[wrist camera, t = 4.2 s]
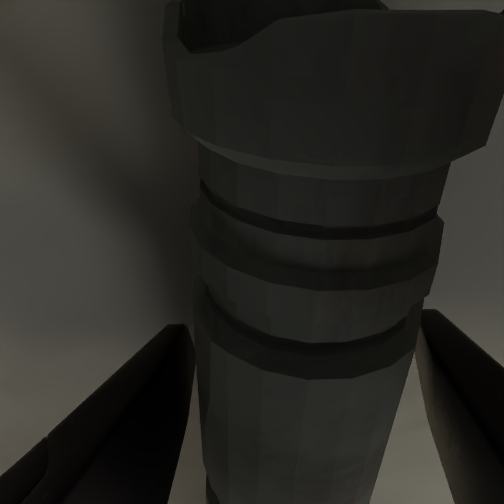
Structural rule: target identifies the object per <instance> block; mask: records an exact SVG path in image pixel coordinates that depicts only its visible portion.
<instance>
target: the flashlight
mask: <svg viewBox="0 0 504 504" xmlns="http://www.w3.org/2000/svg"><path fill="white" fill-rule="evenodd" d="M162 42H163V50H164V57H165V65H166V73H167V80H168V88H169V96H170V103H171V111H172V116H173V118H174V119H175V120H176V121H177V122H178V124H179V125H180V126H181V127H182V129H183V130H184V131H185V132H187V133H188V134H189V135H191V136H192V137H193V138H195V139H196V140H197V141H198V159H199V176H200V177H201V181H200V198H199V199H198V200H197V201H196V202H195V203H194V205H193V206H192V209H191V217H190V224H189V228H190V243H191V256H192V258H193V260H194V262H195V264H196V266H197V268H198V270H199V272H200V274H199V276H198V277H197V279H196V280H195V282H194V292H193V303H192V306H193V321H194V335H195V350H196V364H197V379H198V394H199V408H200V423H201V438H202V452H203V462H204V466H205V469H206V472H207V475H206V500H207V504H369V502H370V498H371V495H372V492H373V488H374V485H375V482H376V478H377V475H378V472H379V468H380V465H381V462H382V458H383V455H384V452H385V448H386V445H387V442H388V438H389V435H390V432H391V428H392V425H393V421H394V418H395V415H396V411H397V408H398V405H399V401H400V398H401V395H402V391H403V388H404V385H405V381H406V378H407V375H408V371H409V368H410V365H411V361H412V358H413V355H414V351H415V348H416V343H417V337H418V331H419V326H420V320H421V314H422V308H423V303H424V297H426V296H427V295H429V292H430V288H431V285H432V282H433V278H434V275H435V271H436V268H437V265H438V260H439V253H440V246H441V239H442V233H443V226H444V222H443V221H442V219H441V218H440V217H439V216H438V215H437V214H436V213H437V207H438V205H439V203H440V200H441V196H442V192H443V189H444V185H445V181H446V178H447V174H448V170H449V167H450V163H451V162H452V161H454V160H456V159H458V158H460V157H462V156H464V155H466V154H469V153H471V152H473V151H475V150H477V149H479V148H481V147H483V146H485V145H486V142H487V139H488V136H489V134H490V131H491V128H492V125H493V122H494V119H495V117H496V114H497V111H498V108H499V105H500V103H501V100H502V97H503V94H504V10H503V11H502V12H501V13H495V12H490V11H486V10H389V9H388V8H387V7H386V6H385V5H384V4H383V3H382V2H381V1H380V0H171V1H169V2H167V3H166V7H165V18H164V28H163V37H162Z"/></svg>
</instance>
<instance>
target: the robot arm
mask: <svg viewBox="0 0 504 504" xmlns="http://www.w3.org/2000/svg"><path fill="white" fill-rule="evenodd" d="M414 352H415V357H416V362H417V367H418V373H419V378H420V383H421V388H422V393H423V399H424V404H425V409H426V413H427V418H428V422H429V425H430V428H431V432H432V435H433V438H434V441H435V444H436V447H437V450H438V453H439V457H440V460H441V463H442V466H443V469H444V472H445V475H446V478H447V481H448V484H449V487H450V490H451V494H452V497H453V500H454V503H455V504H504V368H503V367H502V366H501V365H500V364H499V363H498V362H497V361H495V360H494V359H493V358H492V357H491V356H490V355H489V354H487V353H486V352H485V351H484V350H483V349H482V348H480V347H479V346H478V345H477V344H476V343H475V342H474V341H472V340H471V339H470V338H469V337H468V336H467V335H466V334H464V333H463V332H462V331H461V330H460V329H459V328H457V327H456V326H455V325H454V324H453V323H452V322H451V321H449V320H448V319H447V318H446V317H445V316H444V315H443V314H441V313H440V312H439V311H438V310H436V309H423V310H422V314H421V320H420V326H419V331H418V337H417V343H416V348H415V351H414ZM195 364H196V350H195V347H194V344H193V341H192V338H191V335H190V332H189V329H188V327H187V325H185V324H183V323H181V324H169V325H167V326H166V327H164V328H163V329H162V330H161V331H160V332H159V333H158V334H157V335H156V336H155V337H153V338H152V339H151V340H150V341H149V342H148V343H147V344H146V345H145V346H144V347H143V348H141V349H140V350H139V351H138V352H137V353H136V354H135V355H134V356H133V357H132V358H130V359H129V360H128V361H127V362H126V363H125V364H124V365H123V366H122V367H121V368H120V369H118V370H117V371H116V372H115V373H114V374H113V375H112V376H111V377H110V378H109V379H108V380H106V381H105V382H104V383H103V384H102V385H101V386H100V387H99V388H98V389H97V390H96V391H94V392H93V393H92V394H91V395H90V396H89V397H88V398H87V399H86V400H85V401H84V402H82V403H81V404H80V405H79V406H78V407H77V408H76V409H75V410H74V411H73V412H72V413H70V414H69V415H68V416H67V417H66V418H65V419H64V420H63V421H62V422H61V423H60V424H58V425H57V426H56V427H55V428H54V429H53V430H52V431H51V432H50V433H49V434H48V436H47V437H44V438H43V439H42V440H41V441H40V442H39V443H38V444H36V445H35V446H34V447H33V448H32V449H31V450H30V451H29V452H28V453H27V454H25V455H24V456H23V457H22V458H21V459H20V460H19V461H17V462H16V463H15V464H14V465H13V466H12V467H11V468H10V469H8V470H7V471H6V472H5V473H4V474H3V475H1V476H0V504H167V503H168V499H169V495H170V491H171V487H172V483H173V479H174V475H175V471H176V467H177V463H178V459H179V455H180V451H181V447H182V443H183V439H184V435H185V431H186V427H187V422H188V416H189V409H190V401H191V394H192V387H193V379H194V372H195Z"/></svg>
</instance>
